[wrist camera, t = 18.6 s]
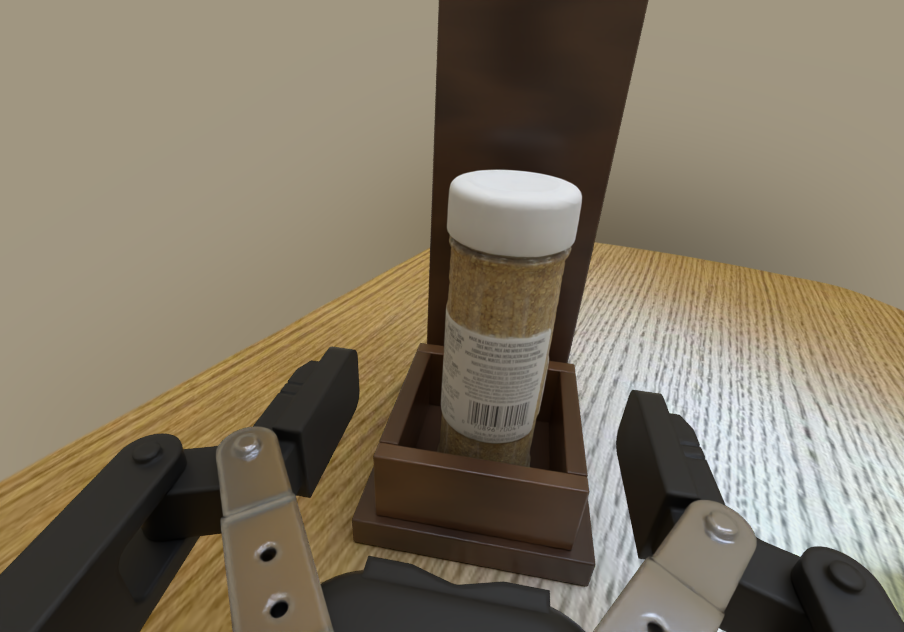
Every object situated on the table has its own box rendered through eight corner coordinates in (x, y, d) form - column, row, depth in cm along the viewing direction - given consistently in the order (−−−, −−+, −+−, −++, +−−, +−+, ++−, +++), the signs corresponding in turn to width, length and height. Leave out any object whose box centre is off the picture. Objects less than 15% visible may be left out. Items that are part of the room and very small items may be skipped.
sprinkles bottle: (533, 438, 24) (585, 173, 17) (522, 511, 20) (584, 206, 13) (448, 419, 25) (466, 160, 18) (422, 486, 21) (432, 187, 14)
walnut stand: (353, 542, 20) (298, -126, 9) (416, 376, 30) (425, -28, 20) (588, 587, 19) (838, -114, 8) (570, 399, 29) (669, -17, 18)
